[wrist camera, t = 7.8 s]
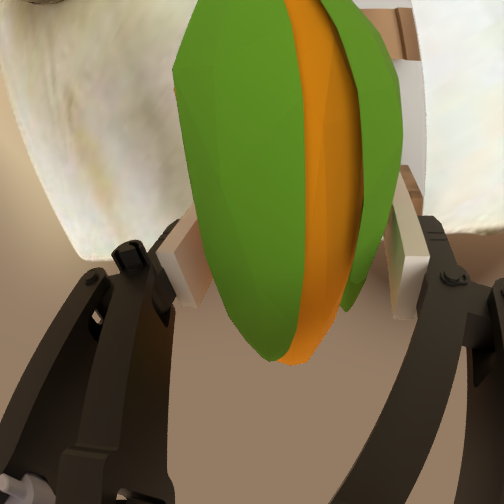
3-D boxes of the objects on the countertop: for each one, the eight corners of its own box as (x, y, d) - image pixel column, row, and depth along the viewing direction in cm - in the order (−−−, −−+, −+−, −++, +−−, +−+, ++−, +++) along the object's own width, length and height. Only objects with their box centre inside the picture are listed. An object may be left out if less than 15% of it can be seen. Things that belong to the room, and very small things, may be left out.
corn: (412, -86, 2) (344, 429, 14) (385, -15, 7) (362, 326, 19) (80, -14, 4) (221, 401, 16) (212, -3, 9) (261, 310, 22)
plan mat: (301, 215, 34) (300, 218, 33) (255, 8, 20) (254, 8, 20) (421, 211, 29) (422, 214, 29) (408, -3, 15) (410, -4, 15)
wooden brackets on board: (316, 199, 32) (311, 239, 27) (282, 23, 21) (266, 17, 15) (406, 196, 29) (419, 237, 23) (392, 15, 17) (411, 8, 12)
